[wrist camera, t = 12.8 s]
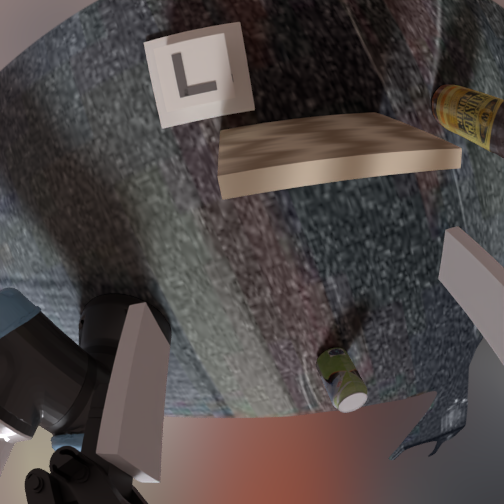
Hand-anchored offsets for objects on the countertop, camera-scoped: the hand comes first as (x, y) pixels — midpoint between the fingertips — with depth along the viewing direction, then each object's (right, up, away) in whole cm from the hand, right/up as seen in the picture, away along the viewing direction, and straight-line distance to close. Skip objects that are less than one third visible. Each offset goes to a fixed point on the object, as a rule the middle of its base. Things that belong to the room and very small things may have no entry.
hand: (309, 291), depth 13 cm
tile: (-8, +20, +16) cm, 27 cm away
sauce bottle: (+23, +20, +19) cm, 36 cm away
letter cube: (-8, +20, +15) cm, 26 cm away
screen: (+4, +14, +21) cm, 26 cm away
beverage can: (+12, -17, +42) cm, 46 cm away
